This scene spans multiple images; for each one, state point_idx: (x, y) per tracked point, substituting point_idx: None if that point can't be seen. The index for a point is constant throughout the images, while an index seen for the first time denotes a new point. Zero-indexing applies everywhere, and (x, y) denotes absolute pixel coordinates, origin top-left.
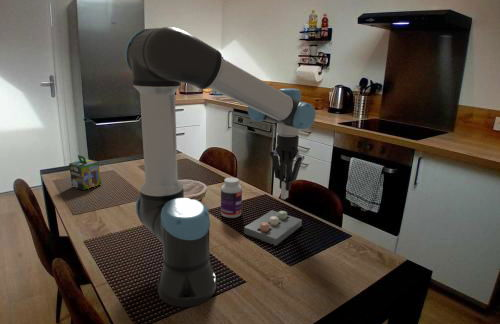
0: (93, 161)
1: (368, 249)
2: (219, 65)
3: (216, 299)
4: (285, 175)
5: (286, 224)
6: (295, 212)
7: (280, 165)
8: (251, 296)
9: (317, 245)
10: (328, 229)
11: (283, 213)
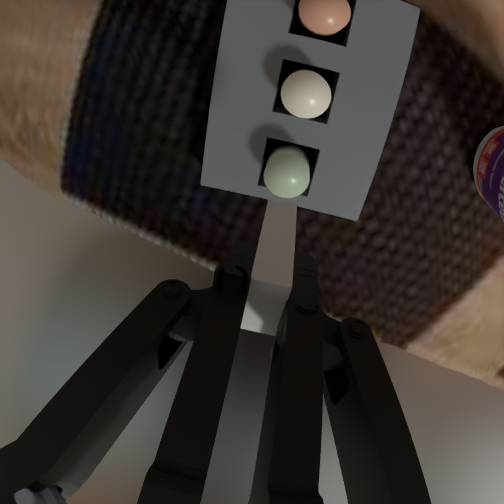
0: None
1: (14, 141)
2: None
3: None
4: (271, 365)
5: (244, 107)
6: None
7: (309, 455)
8: None
9: (107, 66)
10: (121, 194)
11: (279, 169)
